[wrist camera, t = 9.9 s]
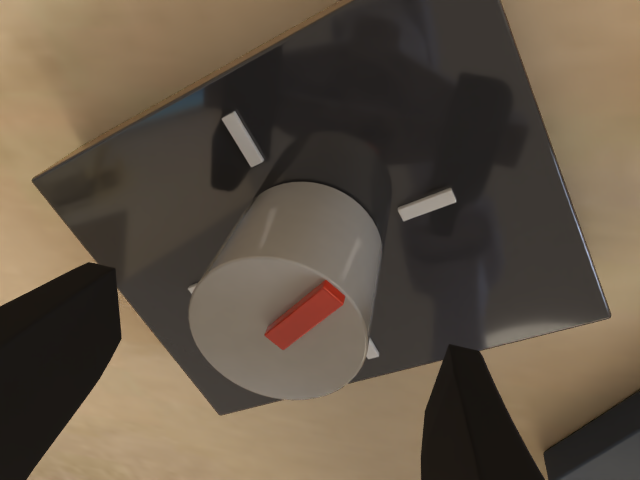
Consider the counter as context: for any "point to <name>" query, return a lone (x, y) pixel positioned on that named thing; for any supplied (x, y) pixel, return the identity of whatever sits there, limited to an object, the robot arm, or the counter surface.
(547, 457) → the switch block
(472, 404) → the robot arm
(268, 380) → the hob knob
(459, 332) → the panel
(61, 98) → the counter surface
